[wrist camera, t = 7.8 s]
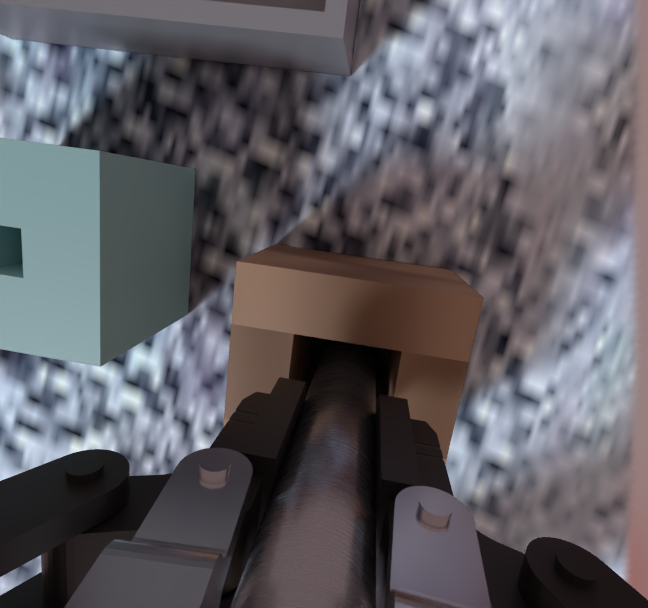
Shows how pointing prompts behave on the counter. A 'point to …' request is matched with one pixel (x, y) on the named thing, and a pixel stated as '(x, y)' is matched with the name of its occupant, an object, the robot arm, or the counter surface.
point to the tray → (198, 29)
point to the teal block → (90, 250)
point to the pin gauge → (322, 497)
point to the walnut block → (353, 326)
